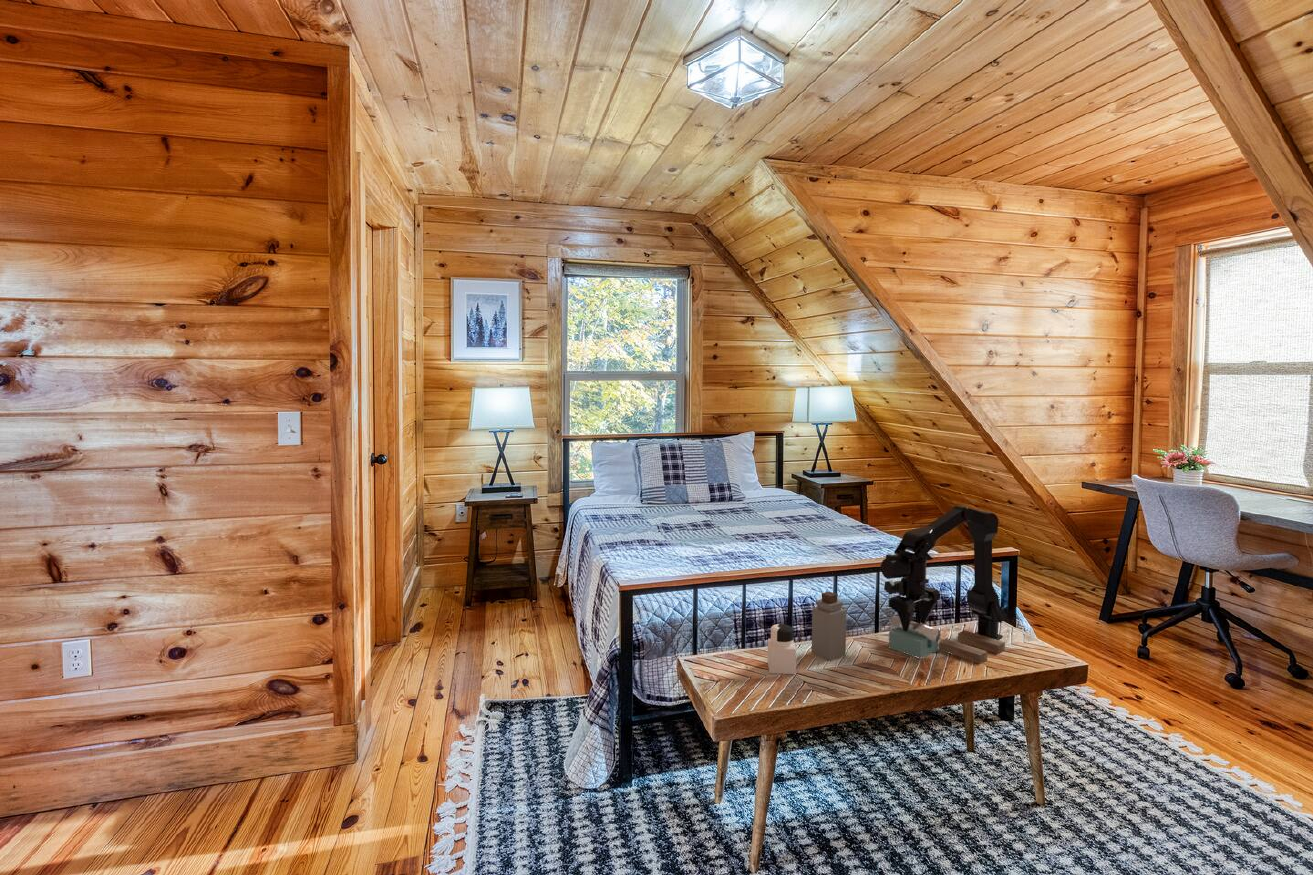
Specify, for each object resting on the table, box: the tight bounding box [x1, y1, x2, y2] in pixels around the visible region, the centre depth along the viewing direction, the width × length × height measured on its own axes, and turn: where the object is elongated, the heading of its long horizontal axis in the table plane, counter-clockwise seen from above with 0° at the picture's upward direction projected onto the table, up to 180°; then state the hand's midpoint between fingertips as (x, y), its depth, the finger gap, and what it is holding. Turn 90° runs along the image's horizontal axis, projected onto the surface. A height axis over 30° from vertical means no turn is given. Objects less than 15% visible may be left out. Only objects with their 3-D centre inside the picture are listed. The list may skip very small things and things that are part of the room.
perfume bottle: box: [811, 591, 847, 662], centre depth 183 cm, size 7×7×18 cm
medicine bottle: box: [767, 623, 797, 675], centre depth 174 cm, size 7×7×12 cm
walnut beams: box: [938, 629, 1006, 665], centre depth 187 cm, size 15×12×2 cm
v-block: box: [888, 628, 939, 659], centre depth 187 cm, size 10×10×5 cm
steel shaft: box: [889, 615, 942, 643], centre depth 187 cm, size 14×4×4 cm, turn 38°
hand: (913, 626), depth 187 cm, fingers open, 9 cm apart
